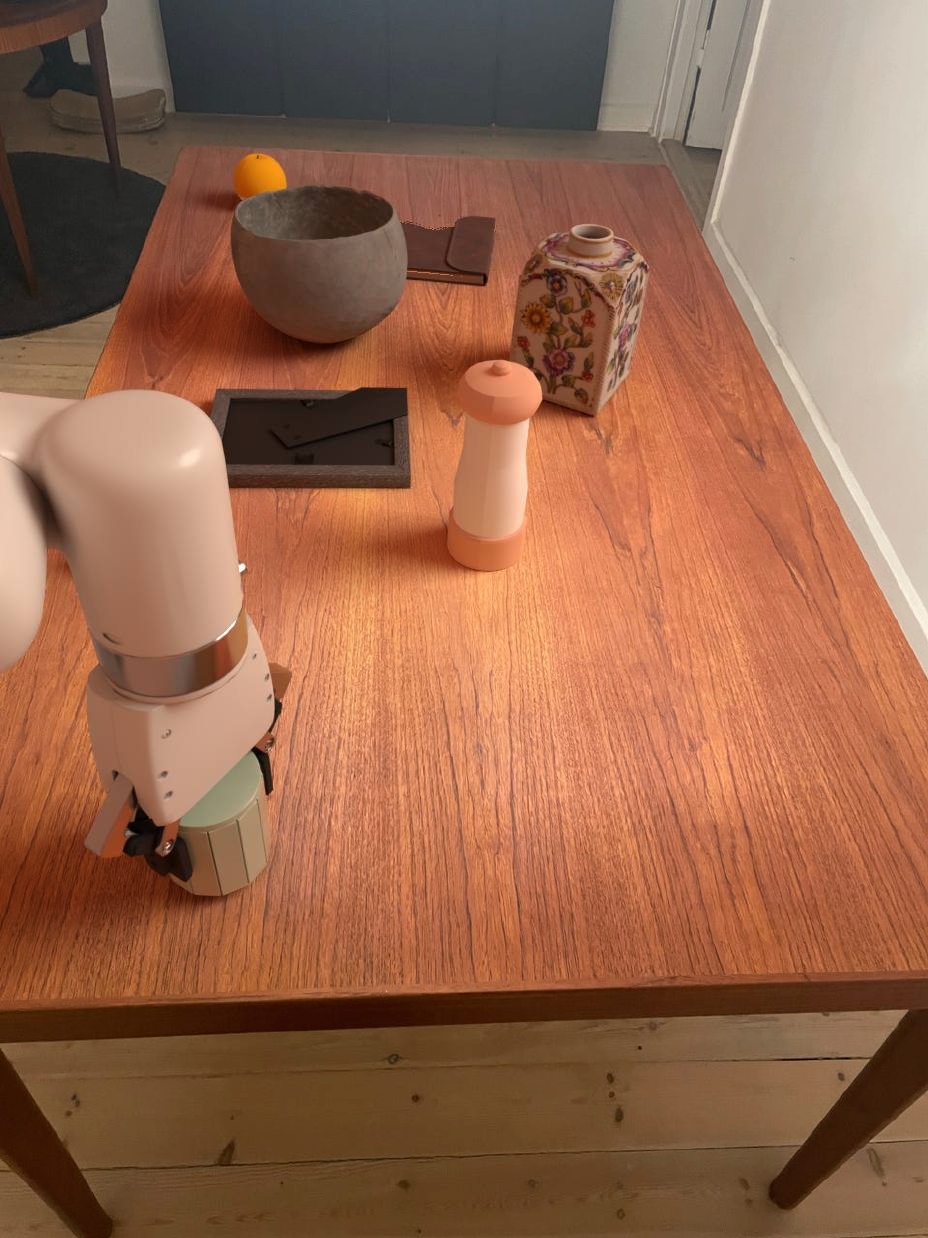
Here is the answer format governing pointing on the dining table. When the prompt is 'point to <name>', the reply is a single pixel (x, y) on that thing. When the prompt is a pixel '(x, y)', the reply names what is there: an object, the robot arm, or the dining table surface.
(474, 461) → the pepper shaker
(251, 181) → the orange
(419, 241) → the notebook
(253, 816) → the cup
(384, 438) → the picture frame
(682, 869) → the dining table surface
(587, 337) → the decorative jar
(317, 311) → the bowl
